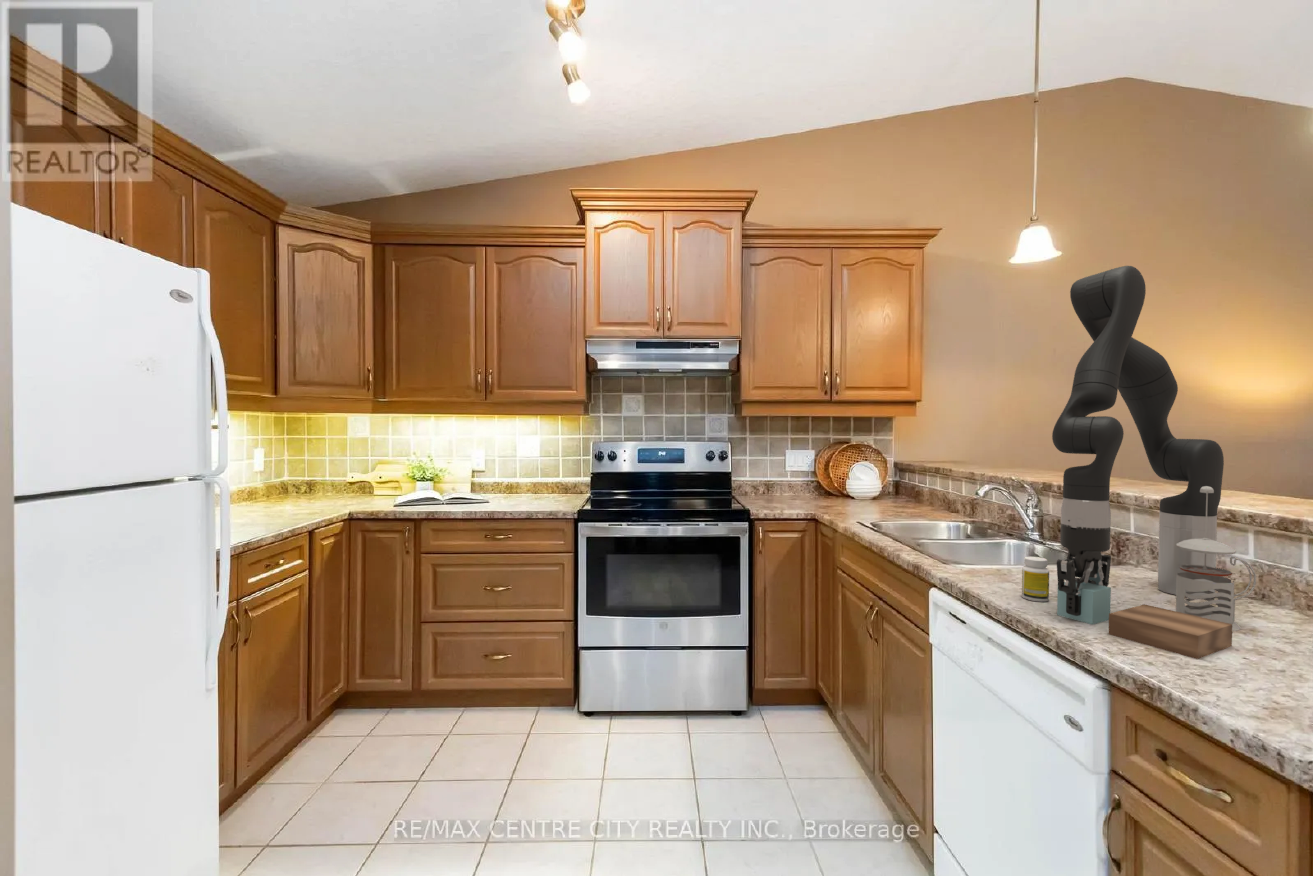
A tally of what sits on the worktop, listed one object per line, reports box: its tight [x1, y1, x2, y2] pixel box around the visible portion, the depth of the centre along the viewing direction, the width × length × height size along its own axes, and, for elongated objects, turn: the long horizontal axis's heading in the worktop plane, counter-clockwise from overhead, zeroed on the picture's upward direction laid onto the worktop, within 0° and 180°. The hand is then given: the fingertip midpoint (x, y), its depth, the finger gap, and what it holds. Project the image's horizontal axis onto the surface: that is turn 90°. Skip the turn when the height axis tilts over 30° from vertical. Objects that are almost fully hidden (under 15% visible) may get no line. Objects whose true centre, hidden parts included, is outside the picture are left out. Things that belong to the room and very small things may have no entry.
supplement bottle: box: [1021, 556, 1050, 603], centre depth 121 cm, size 5×5×8 cm
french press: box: [1175, 486, 1257, 632], centre depth 107 cm, size 10×12×25 cm
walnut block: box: [1108, 603, 1233, 660], centre depth 98 cm, size 12×12×4 cm
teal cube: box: [1056, 581, 1112, 625], centre depth 110 cm, size 6×6×6 cm
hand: (1083, 611), depth 110 cm, fingers closed on teal cube, 6 cm apart
